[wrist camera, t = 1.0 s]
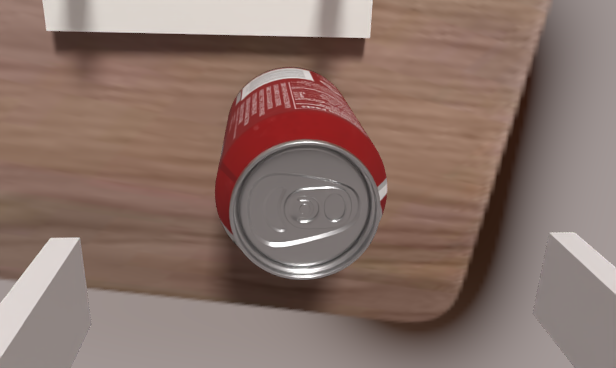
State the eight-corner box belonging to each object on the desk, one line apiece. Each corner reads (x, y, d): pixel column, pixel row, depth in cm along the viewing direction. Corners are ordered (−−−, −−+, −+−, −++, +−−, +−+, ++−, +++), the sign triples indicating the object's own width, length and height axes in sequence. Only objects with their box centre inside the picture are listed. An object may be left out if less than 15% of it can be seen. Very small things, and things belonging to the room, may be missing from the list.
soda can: (223, 66, 30) (203, 127, 19) (349, 62, 30) (402, 119, 19) (232, 184, 32) (218, 299, 21) (348, 179, 33) (394, 289, 22)
